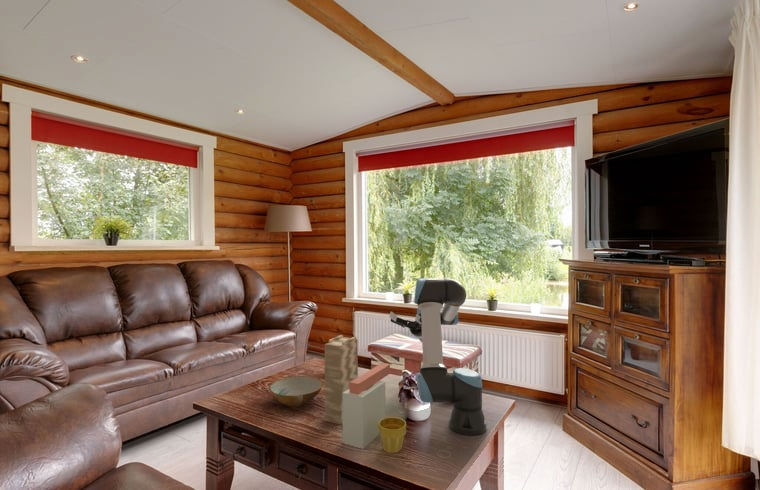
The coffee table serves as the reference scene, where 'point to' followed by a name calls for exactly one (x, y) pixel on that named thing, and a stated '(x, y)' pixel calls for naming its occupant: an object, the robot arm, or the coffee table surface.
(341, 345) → the birch stand
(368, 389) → the pale green paneled block
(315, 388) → the bowl
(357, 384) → the coral square-faced block
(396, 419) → the plant pot
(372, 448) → the coffee table surface
